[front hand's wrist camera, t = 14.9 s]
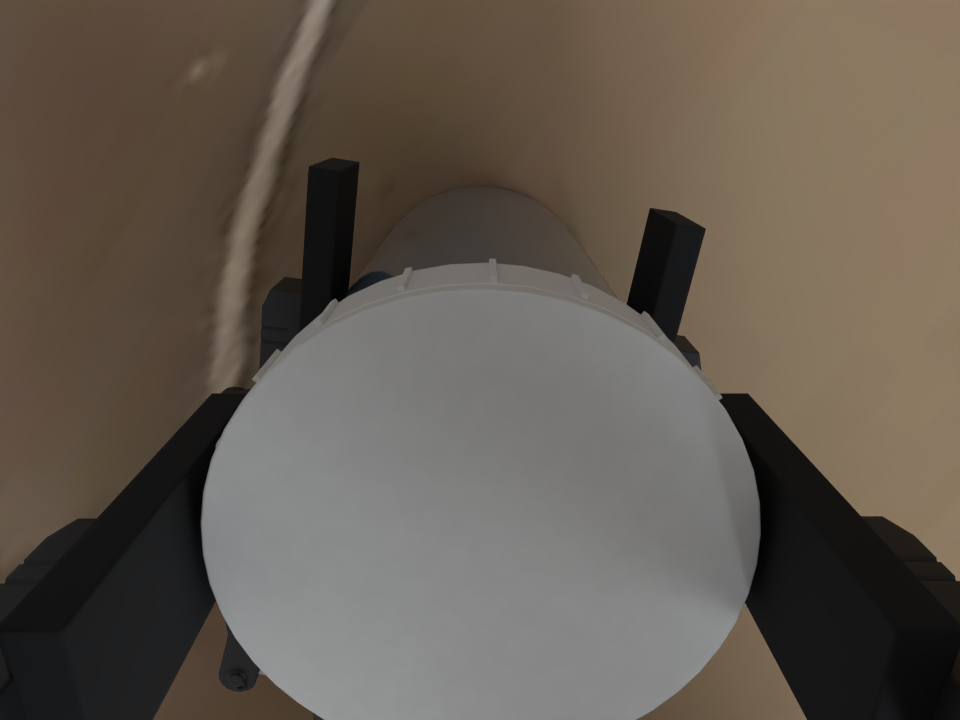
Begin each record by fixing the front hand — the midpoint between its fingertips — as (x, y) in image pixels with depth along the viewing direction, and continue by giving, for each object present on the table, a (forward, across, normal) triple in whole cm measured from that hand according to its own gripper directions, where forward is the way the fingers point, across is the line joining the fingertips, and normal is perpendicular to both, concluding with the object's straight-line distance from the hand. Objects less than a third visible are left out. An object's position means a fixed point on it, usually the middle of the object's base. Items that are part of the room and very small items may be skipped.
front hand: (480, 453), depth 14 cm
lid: (-3, 0, 0) cm, 3 cm away
